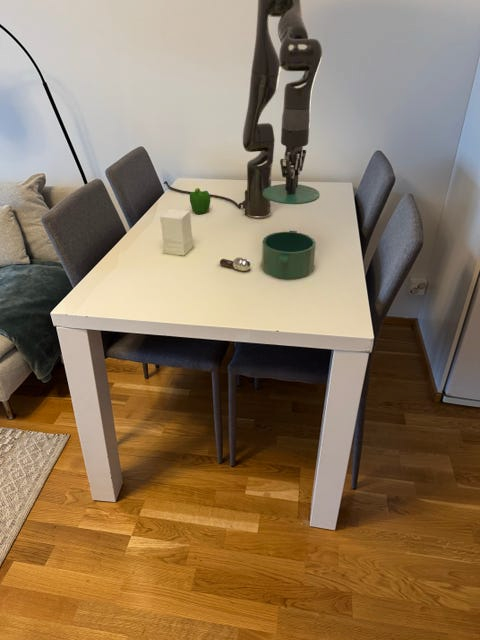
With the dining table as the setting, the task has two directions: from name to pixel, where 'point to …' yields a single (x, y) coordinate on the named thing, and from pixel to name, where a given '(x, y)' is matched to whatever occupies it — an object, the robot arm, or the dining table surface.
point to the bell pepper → (200, 201)
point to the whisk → (236, 263)
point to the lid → (291, 194)
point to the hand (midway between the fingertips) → (291, 189)
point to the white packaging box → (176, 232)
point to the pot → (288, 255)
